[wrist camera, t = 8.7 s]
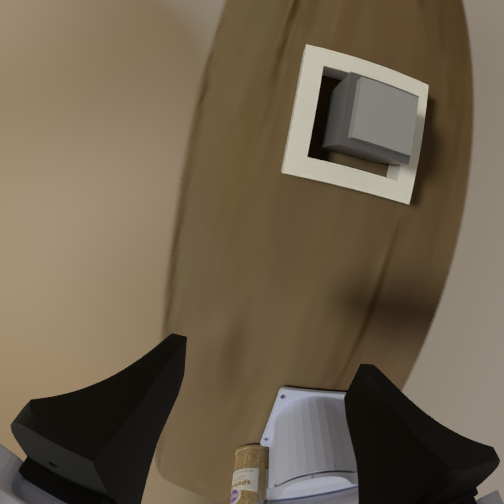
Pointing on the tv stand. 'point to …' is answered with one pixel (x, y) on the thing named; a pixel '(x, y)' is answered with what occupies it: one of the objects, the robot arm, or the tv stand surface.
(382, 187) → the socket block
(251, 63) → the tv stand surface
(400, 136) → the stepped grey plug block
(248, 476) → the sprinkles bottle
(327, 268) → the tv stand surface
